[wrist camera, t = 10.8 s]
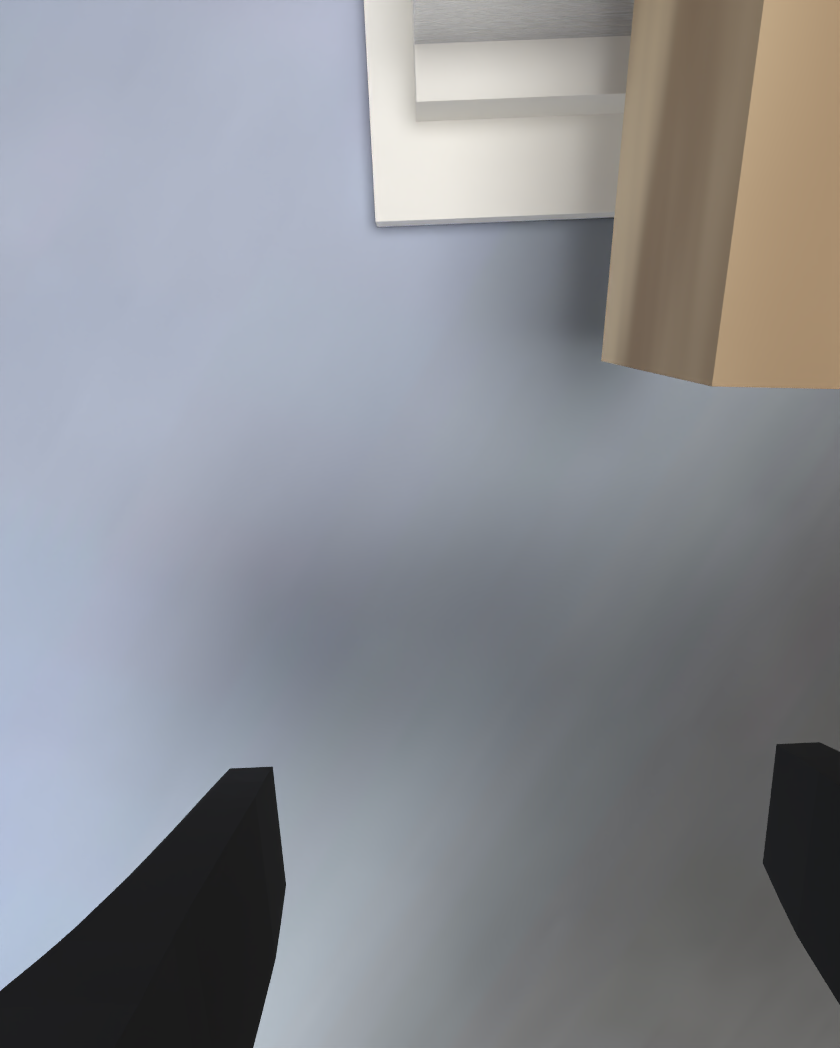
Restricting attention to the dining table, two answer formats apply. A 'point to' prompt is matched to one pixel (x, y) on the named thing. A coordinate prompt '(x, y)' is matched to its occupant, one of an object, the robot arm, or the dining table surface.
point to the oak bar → (729, 195)
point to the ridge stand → (496, 108)
